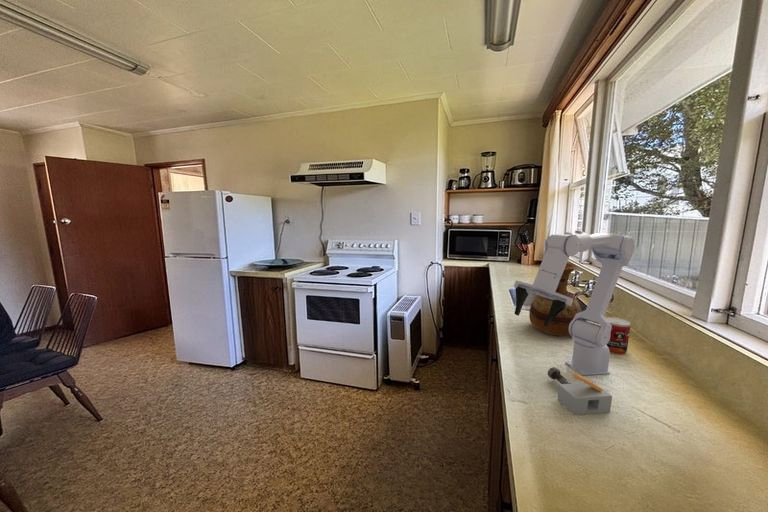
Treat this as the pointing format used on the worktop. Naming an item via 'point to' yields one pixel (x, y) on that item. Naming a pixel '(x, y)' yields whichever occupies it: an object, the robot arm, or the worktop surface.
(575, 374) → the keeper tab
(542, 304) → the brown clay vase
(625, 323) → the canned food
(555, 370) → the pin
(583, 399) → the block
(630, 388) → the worktop surface
